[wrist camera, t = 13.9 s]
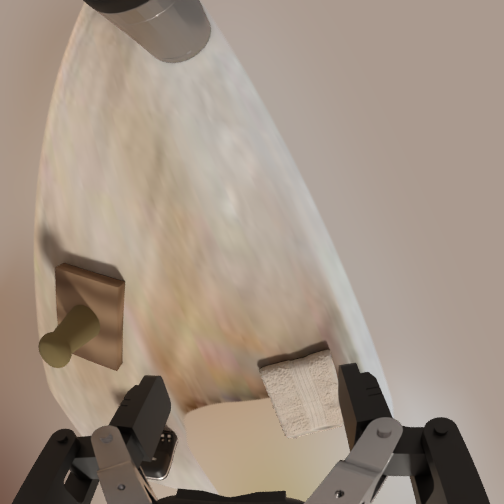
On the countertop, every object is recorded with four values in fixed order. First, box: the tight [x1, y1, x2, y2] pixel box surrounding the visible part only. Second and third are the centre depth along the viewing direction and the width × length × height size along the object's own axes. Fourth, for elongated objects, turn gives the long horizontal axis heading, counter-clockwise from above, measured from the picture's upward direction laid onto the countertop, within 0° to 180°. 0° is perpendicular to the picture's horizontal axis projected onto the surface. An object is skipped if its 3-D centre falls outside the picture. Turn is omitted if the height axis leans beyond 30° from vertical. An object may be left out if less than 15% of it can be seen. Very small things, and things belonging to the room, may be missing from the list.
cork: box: [39, 305, 100, 368], centre depth 39 cm, size 6×6×11 cm
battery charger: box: [140, 431, 178, 480], centre depth 49 cm, size 7×4×11 cm, turn 96°
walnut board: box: [55, 263, 125, 371], centre depth 46 cm, size 16×12×2 cm
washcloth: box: [259, 350, 344, 438], centre depth 48 cm, size 12×18×3 cm, turn 19°
